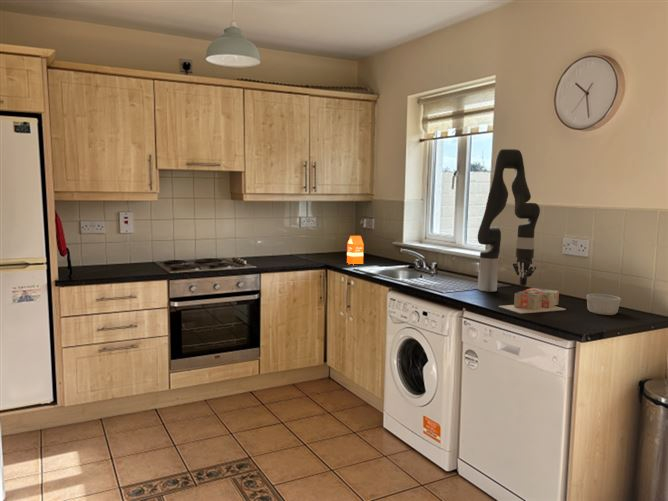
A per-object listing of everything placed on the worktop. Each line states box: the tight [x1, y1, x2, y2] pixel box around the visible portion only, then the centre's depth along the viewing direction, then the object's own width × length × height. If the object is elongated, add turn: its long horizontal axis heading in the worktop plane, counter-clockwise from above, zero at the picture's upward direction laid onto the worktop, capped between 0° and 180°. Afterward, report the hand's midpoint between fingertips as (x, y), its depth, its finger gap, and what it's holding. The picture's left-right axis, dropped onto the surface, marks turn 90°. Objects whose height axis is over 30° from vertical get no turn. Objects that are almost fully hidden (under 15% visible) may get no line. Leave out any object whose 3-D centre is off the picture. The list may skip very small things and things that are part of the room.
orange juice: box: [346, 235, 365, 266], centre depth 370 cm, size 8×9×20 cm
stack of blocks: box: [513, 287, 560, 310], centre depth 238 cm, size 21×6×12 cm
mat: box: [498, 304, 567, 314], centre depth 234 cm, size 14×25×1 cm, turn 111°
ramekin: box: [586, 293, 622, 316], centre depth 229 cm, size 13×13×7 cm
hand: (523, 285), depth 239 cm, fingers closed
